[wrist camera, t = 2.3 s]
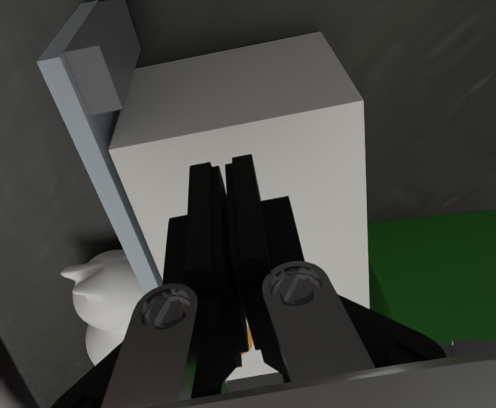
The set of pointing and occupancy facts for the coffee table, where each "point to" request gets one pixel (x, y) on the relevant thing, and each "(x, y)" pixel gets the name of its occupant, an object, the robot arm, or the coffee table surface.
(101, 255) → the cat figurine
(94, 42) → the side door
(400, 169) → the coffee table surface
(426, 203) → the coffee table surface
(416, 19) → the coffee table surface
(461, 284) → the hardback book
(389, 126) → the coffee table surface
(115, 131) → the white rectangular box
